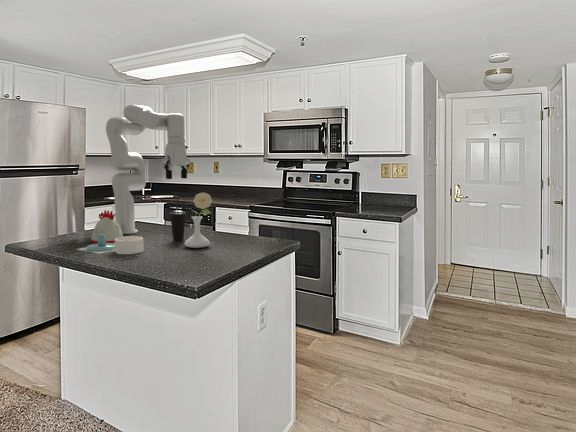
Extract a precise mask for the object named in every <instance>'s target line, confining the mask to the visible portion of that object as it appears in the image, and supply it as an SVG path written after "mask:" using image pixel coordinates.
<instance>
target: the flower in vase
mask: <svg viewBox="0 0 576 432" xmlns="http://www.w3.org/2000/svg"><path fill="white" fill-rule="evenodd" d="M212 202H213V199H212V197H211V195H210V193H207V192H202V191H201V192H199V193H198V194H195V196H194V199H193V203H194V205H195V206H194V207H196V208H198V209H201V211H200V212H199V213H198V212H197V211H195V210H192V208H190V209H191V211H192V212H193V213H195V214H198V216H197V215H196V216H191V219H192V220H193V225H194V232H193V234H192V235H191V236H190V237H189V238H187V239H186V240H185V242H184V245H185V247H188V248H192V249H200V248H205V247H208V246H210V244H211V242H210V240H209V239H208V238H206V237H205V235H203V234H202V233H201V230H200V229H201V228H200V226H201V220H202V219H203V216H202V215H201V214H202V213H203V215H210V214H212V212H211V211H210V209H207V208H209V207H211V204H212ZM200 215H201V216H200Z"/></svg>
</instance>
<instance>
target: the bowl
mask: <svg viewBox="0 0 576 432" xmlns="http://www.w3.org/2000/svg"><path fill="white" fill-rule="evenodd" d="M114 244H115V251H114V252H115V253H116V254H118V255H134V254H135V255H136V256H137V255H138V254H141V253H142V252H144V248H145V247H144V244H145V243H144V237H143V236H137V235H133V236H132V235H130V236H127V235H126V236H123V237H119V238H116V239H115V242H114Z"/></svg>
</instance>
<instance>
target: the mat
mask: <svg viewBox="0 0 576 432" xmlns="http://www.w3.org/2000/svg"><path fill="white" fill-rule="evenodd" d="M76 250H77V251H84V252H88V253H94V254H98V255H99V254H104V253H109V252H115V249H114V250H109V251H88V250H87V246H86V247H81V248H77V249H76Z"/></svg>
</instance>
